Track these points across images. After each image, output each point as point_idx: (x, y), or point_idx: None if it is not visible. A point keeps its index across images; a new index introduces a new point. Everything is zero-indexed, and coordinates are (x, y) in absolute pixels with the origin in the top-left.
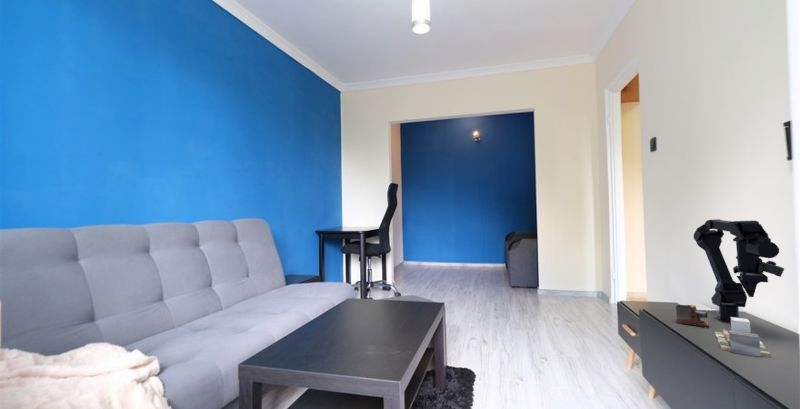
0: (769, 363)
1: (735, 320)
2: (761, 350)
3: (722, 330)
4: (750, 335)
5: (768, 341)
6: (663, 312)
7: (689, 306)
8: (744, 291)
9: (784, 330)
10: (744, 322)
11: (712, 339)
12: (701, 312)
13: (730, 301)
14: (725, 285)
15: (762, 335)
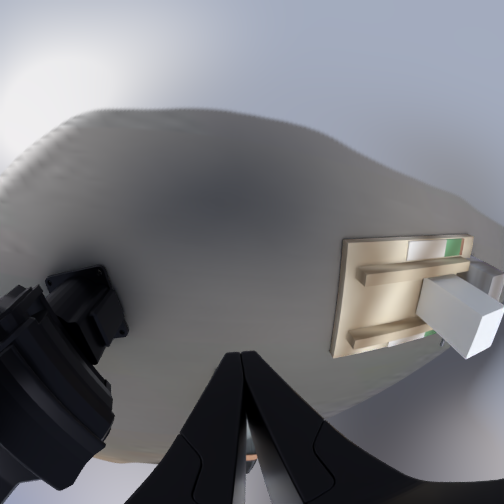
0: (489, 243)
1: (492, 340)
2: (461, 252)
3: (354, 346)
4: (498, 291)
5: (339, 207)
6: (137, 442)
7: (249, 461)
8: (7, 355)
9: (112, 124)
10: (499, 318)
11: (382, 349)
12: (247, 425)
13: (94, 375)
14: (59, 469)
15: (257, 214)
